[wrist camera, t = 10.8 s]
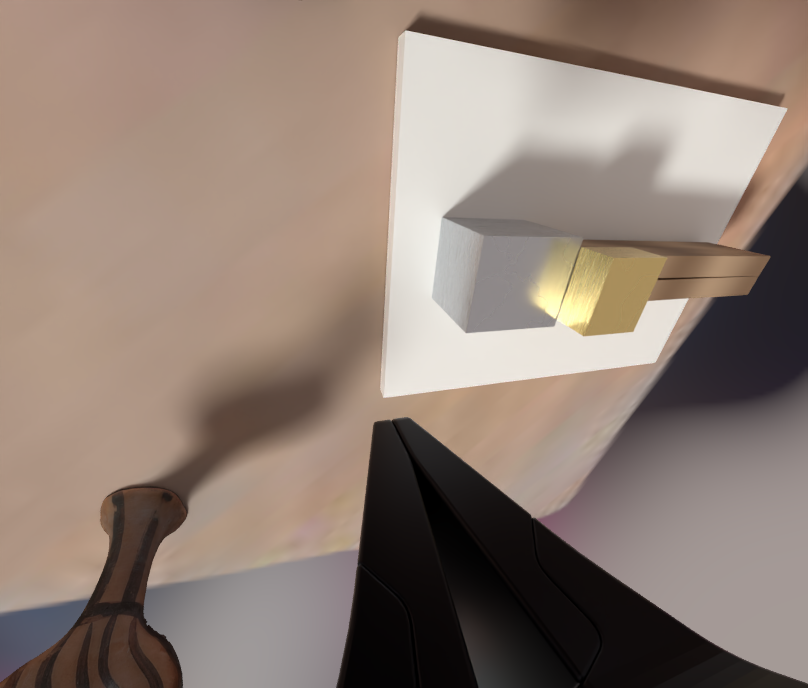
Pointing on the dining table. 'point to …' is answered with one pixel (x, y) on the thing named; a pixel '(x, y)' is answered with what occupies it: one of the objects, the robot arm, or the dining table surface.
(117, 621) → the figurine
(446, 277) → the hinge block
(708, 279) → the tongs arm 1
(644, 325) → the board
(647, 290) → the block
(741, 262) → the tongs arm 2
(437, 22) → the dining table surface
